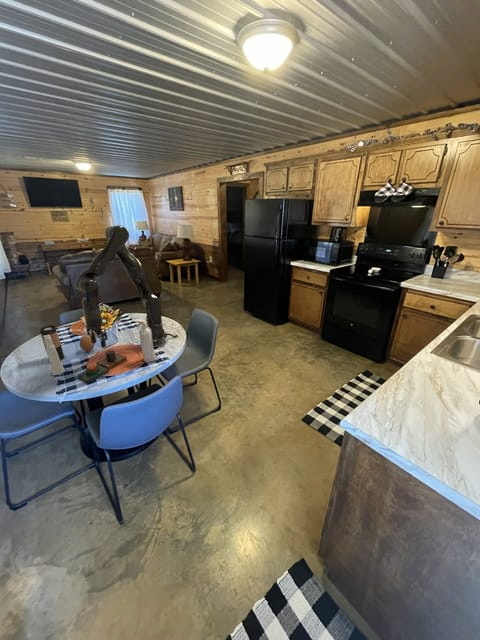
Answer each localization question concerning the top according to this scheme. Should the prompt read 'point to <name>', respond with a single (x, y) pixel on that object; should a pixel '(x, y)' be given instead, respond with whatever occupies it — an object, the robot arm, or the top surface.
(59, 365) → the cosmetic bottle
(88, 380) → the housing
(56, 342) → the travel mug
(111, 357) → the knob
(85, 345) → the egg
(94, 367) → the button
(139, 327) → the fire extinguisher
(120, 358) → the panel
